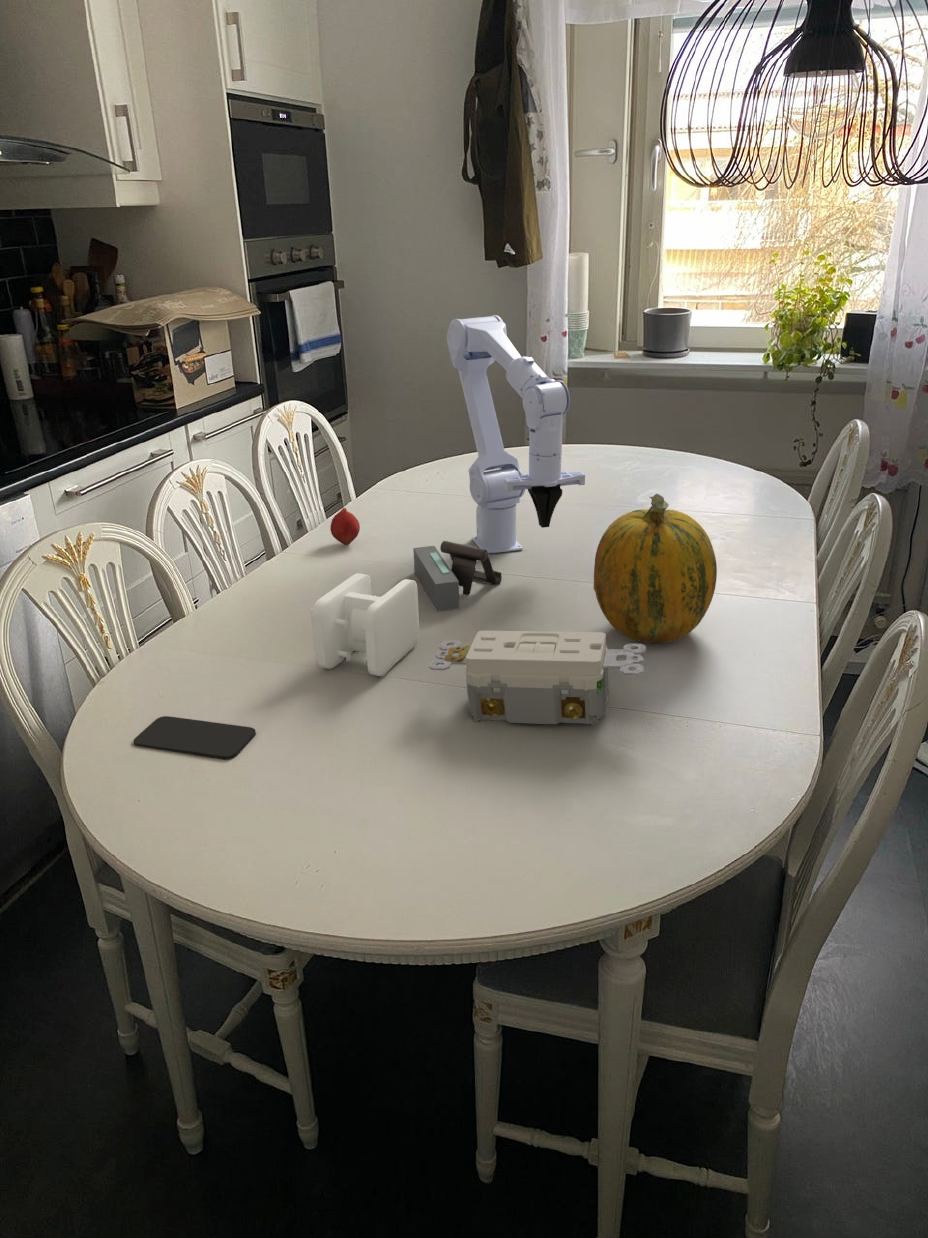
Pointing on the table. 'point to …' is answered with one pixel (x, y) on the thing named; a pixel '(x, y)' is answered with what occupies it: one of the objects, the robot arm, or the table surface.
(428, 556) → the charging dock
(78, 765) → the table surface
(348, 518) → the onion
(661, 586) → the pumpkin
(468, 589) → the portable electronic device stand
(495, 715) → the electrical outlet
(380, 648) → the cable organizer
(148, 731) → the phone
